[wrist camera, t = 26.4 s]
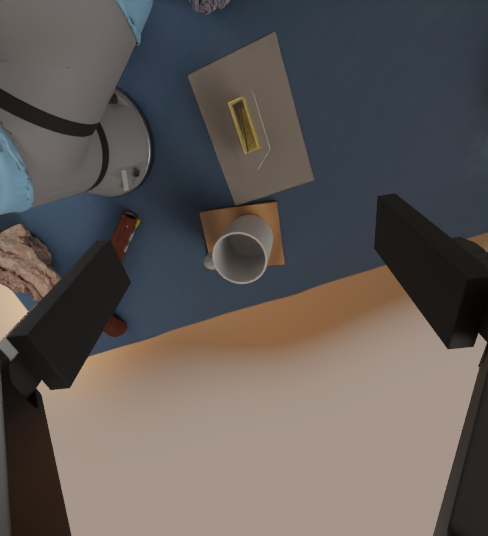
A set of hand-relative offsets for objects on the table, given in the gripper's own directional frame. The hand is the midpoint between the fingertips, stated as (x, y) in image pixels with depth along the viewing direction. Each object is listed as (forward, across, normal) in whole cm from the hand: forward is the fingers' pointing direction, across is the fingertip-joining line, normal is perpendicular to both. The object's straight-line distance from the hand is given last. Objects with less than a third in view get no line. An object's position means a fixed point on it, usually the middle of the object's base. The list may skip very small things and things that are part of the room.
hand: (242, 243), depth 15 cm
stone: (+32, -37, -14) cm, 51 cm away
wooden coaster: (+29, -3, -14) cm, 32 cm away
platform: (+31, +1, +1) cm, 31 cm away
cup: (+28, -3, -14) cm, 32 cm away
